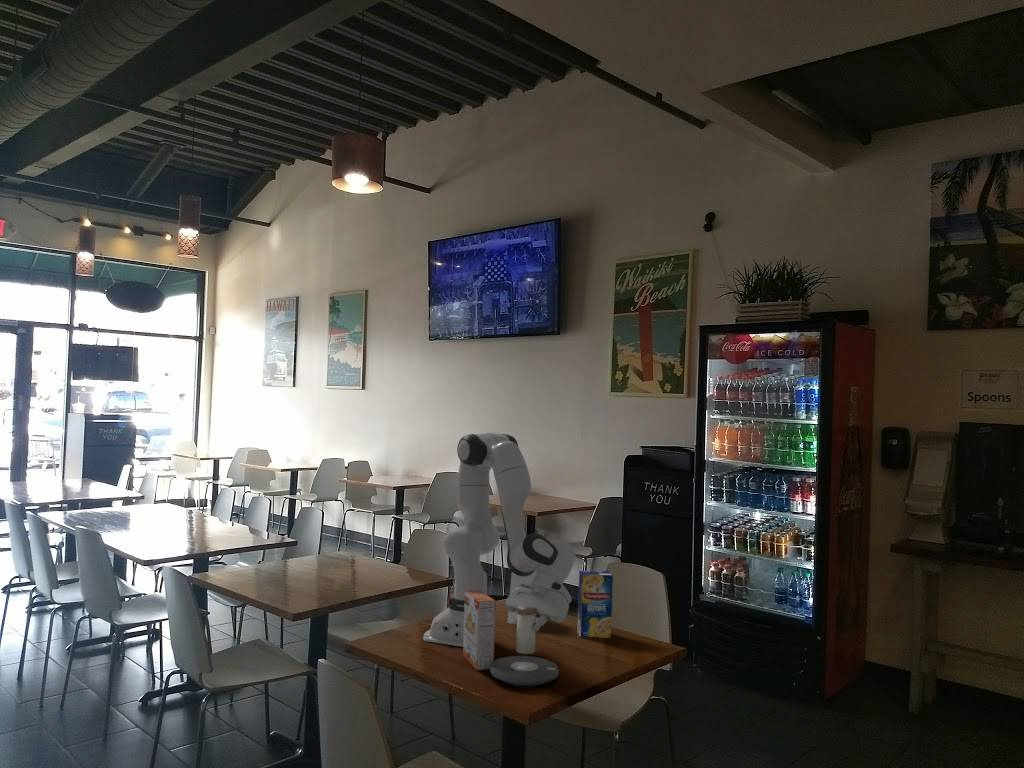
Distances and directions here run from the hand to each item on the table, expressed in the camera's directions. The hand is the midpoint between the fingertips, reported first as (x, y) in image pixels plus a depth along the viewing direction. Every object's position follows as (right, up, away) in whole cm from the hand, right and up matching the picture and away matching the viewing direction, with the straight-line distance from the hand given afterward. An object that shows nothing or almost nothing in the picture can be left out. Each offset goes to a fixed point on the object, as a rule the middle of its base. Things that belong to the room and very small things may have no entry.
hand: (525, 627), depth 223 cm
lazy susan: (0, -13, 0) cm, 13 cm away
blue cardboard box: (+26, -18, +48) cm, 58 cm away
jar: (0, -7, 0) cm, 7 cm away
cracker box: (-15, -15, +12) cm, 24 cm away
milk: (+2, -18, +63) cm, 66 cm away
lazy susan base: (0, -15, 0) cm, 15 cm away
